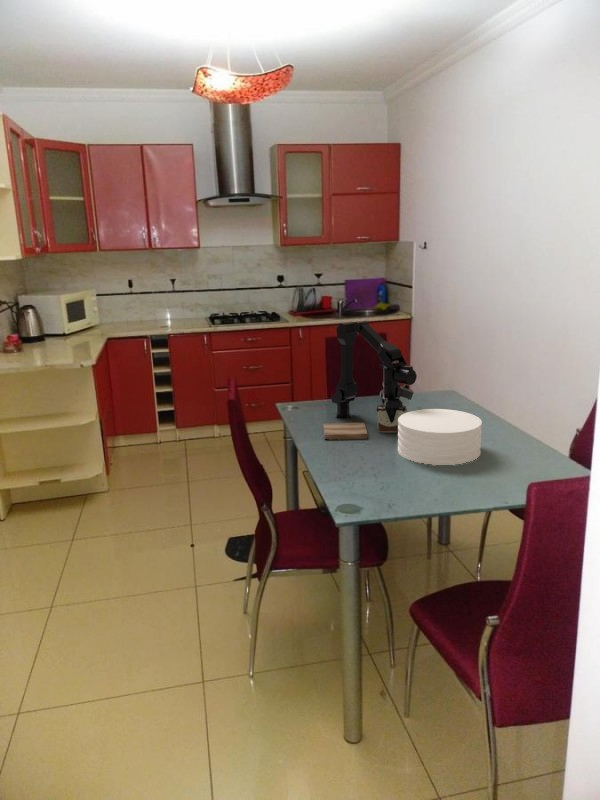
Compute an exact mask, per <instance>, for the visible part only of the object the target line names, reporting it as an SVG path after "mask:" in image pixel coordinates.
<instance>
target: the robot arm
mask: <svg viewBox="0 0 600 800" xmlns="http://www.w3.org/2000/svg"><path fill="white" fill-rule="evenodd" d="M358 334H359V335H361V336H362V338H364V340H365V341H367V342H368V344H369V345H370V346H371V347H372V348H373V349H374V350H375V351H376V352H377V357H378V358H379V359H380V361H381V364H380V365H379V369H383V372H382V373H383V375H382V376H383V377H382V378H383V381H382V387H383V389H381V390H380V392H379V397H380V398H381V404H385V405H384V406H385V409H386V412H387V414H388V417H389V420H390V422H394V418H395V414H396V411H397V410H398V409H399V408H402V406H403V405H404V404H403V401H402V400H401V399H400V398H405V399H407V400H410V401H412V399H413V396H414V393H415V392H414V391H413V390H412V388H410V387H409V386H412V385H414V384H415V382H416V381H417V377H418V376H417V373H416V370H414V367H413V365H408V364H407V362H406V360H405V357H404V355H403V354H402V350H401V349H400V348H399V347H398V346H396V345H394V344H393V343H390V342H387V340H385V339H384V338H383V337H382V336H381V335H380V334H379V333H378V332H377V331H375V329H374V328H372V326H371V325H370V324H369V322H368V321H365V320H362V321H356V322H354V321H349V322H342V323H339V324H338V325H337V326H336V337H337V338H336V339H337V340H338V342H339V344H340V379H339V381H338V382H337V384H336V389H335V393H334V394H333V395H332V396H331V402H332V403H334V404H336V412H334V413H335V417H336V419H337V418H339V419H340V418H352V417H353V416H352V413H351V402H354V401H355V399H356V396H357V394H358V393H359V391H358V383H357V382H355V380H354V377H353V372H354V369H353V367H354V343H355V342H356V340H357V338H358ZM401 384H403V385H401Z"/></svg>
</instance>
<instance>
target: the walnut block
mask: <svg viewBox="0 0 600 800" xmlns="http://www.w3.org/2000/svg"><path fill="white" fill-rule="evenodd" d="M322 426H323V435H324V437H325V438H324V437H323V438H324V440H325V439H329V440H328V441H331V440H330V439H338V440H339V441H340V440H341V439H342V440H365V439H366V440H368V431H367V428H366V425H365V422H341V423H340V422H338V423H337V422H336V423H335V422H334V423H323V425H322ZM338 440H337V441H338Z"/></svg>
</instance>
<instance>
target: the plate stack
mask: <svg viewBox="0 0 600 800" xmlns="http://www.w3.org/2000/svg"><path fill="white" fill-rule="evenodd" d="M398 424H399V425H398V432H397V438H398V439H397V453H398V454H399V455H400V456H401V457H402V458H404V459H405V460H408V461H410V460H411V461H410V462H413V461H414V462H413V463H417V462H418V463H417V464H421V463H424V464H423V465H427V464H432V465H431V466H436V465H453V466H456V465H455V464H461V465H463V464H462V463H466V462H470V461H472V462H474V461H473V460H475V459H476V460H478V459H479V458H480V457H479V456H481V447H482V445H481V444H482V443H481V442H482V427H483V425H482V424H483V421H482V419H481V418H480V417H478V416H476V415H474V414H472V413H470V412H465V411H461V410H455V409H445V408H428V409H427V408H424V409H417V410H412V411H410V410H409V411H407V412H406V413H404V414H402V415H401V416H400V417H399V418H398ZM478 457H479V458H478ZM477 458H478V459H477ZM476 460H475V461H476ZM470 463H471V462H470ZM466 464H467V463H466Z"/></svg>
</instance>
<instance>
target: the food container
mask: <svg viewBox="0 0 600 800" xmlns="http://www.w3.org/2000/svg"><path fill="white" fill-rule="evenodd" d="M384 405H385V404H383V403H381V404H378V405H376V407H375V410H374V413H376V418H377V419H376V421H377V428H378V429H377V430H378V433H398V425H399V424H398V418H399V417H400V416H401V415H402V414H404V413H407V412H408V408H407V406H406V405H404V404H403V406H402V408H399V409H398V410H397V411H396V414H395V418H394V422H390V420H389V417H388V414H387V412H386V409H385V406H384Z"/></svg>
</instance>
